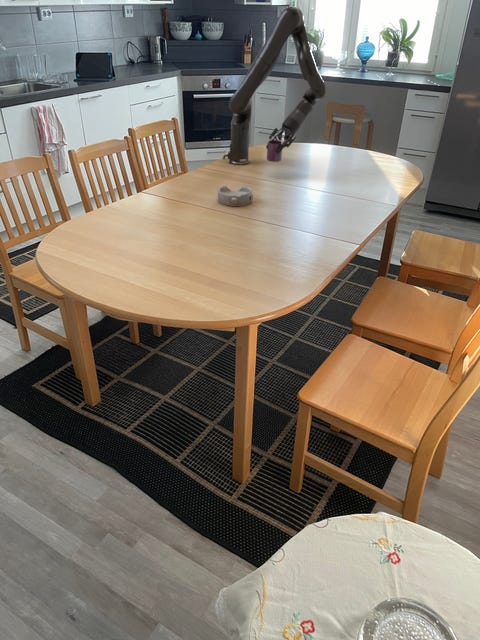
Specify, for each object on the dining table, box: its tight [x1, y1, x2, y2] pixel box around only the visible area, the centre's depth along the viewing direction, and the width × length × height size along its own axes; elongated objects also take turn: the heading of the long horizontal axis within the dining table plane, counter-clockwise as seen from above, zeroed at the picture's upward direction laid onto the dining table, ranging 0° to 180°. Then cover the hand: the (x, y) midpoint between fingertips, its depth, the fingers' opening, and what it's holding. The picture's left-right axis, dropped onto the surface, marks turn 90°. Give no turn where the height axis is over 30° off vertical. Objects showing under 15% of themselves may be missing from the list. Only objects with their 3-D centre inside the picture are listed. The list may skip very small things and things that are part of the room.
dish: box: [217, 185, 254, 207], centre depth 203 cm, size 14×14×5 cm
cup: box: [266, 139, 283, 163], centre depth 228 cm, size 7×7×8 cm
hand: (272, 150), depth 227 cm, fingers closed on cup, 7 cm apart
